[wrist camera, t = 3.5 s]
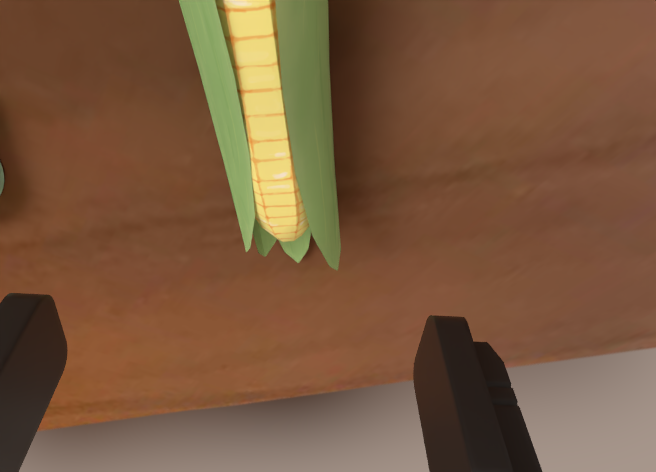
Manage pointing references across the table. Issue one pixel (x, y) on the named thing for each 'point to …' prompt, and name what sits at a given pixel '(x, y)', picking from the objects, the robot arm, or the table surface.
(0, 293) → the table surface
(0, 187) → the spoon
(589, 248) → the table surface
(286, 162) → the edible corn
